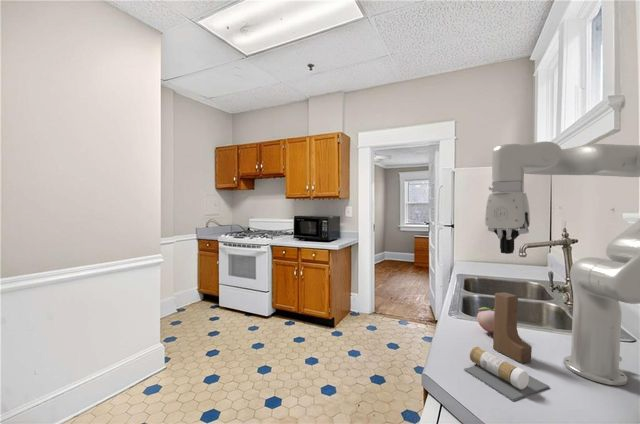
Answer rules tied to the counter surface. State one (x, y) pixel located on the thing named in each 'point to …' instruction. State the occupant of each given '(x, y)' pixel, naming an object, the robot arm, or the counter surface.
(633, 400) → the counter surface
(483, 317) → the decorative fruit
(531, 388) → the mat
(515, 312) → the wooden block
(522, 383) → the sprinkles bottle
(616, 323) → the robot arm
